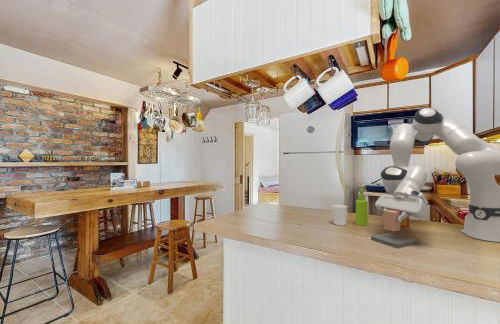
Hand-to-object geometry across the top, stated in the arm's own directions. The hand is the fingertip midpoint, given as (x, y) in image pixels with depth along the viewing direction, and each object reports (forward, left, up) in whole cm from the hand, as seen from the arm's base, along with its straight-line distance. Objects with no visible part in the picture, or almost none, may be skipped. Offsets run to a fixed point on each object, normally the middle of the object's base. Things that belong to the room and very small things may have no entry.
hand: (391, 219), depth 106 cm
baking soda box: (-29, -15, -10) cm, 34 cm away
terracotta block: (-1, 0, -4) cm, 4 cm away
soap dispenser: (-13, -26, -10) cm, 30 cm away
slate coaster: (-1, 0, -10) cm, 10 cm away
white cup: (-3, -32, -10) cm, 33 cm away
